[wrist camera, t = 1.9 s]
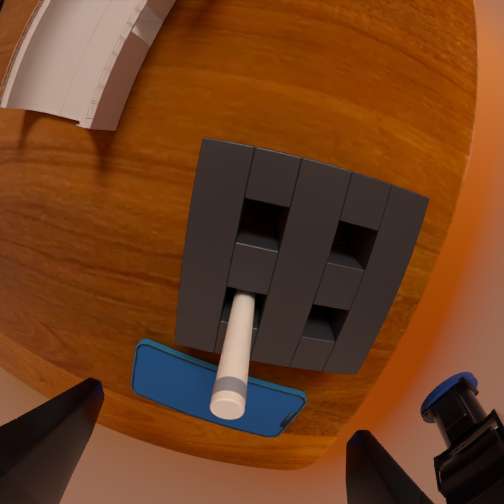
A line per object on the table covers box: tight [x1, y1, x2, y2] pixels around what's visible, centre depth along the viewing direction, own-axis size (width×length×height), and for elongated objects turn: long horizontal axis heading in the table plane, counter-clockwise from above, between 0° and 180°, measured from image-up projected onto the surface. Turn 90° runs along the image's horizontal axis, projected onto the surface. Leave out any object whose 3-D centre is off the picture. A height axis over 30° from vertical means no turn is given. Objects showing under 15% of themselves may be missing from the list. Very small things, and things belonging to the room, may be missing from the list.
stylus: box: [210, 289, 255, 419], centre depth 14 cm, size 1×1×11 cm
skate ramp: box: [0, 0, 176, 131], centre depth 11 cm, size 15×13×5 cm
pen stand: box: [175, 137, 429, 375], centre depth 16 cm, size 12×12×4 cm
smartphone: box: [131, 339, 307, 437], centre depth 22 cm, size 7×1×15 cm
